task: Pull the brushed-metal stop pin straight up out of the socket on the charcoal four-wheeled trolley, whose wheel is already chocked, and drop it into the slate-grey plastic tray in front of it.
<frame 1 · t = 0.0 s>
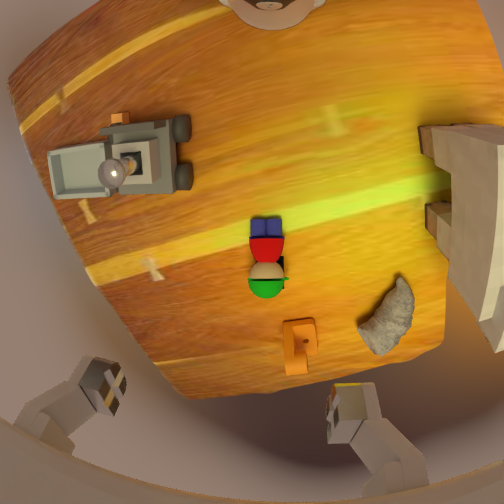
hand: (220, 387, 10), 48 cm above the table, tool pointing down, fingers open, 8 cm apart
tray: (87, 167, 56), on the table
seashell: (382, 306, 66), on the table
toy: (267, 248, 62), on the table
bracket: (301, 333, 72), on the table
toy 2: (449, 194, 52), on the table
stop pin: (141, 158, 48), point 6 cm above the table, touching trolley
trolley: (155, 152, 54), on the table
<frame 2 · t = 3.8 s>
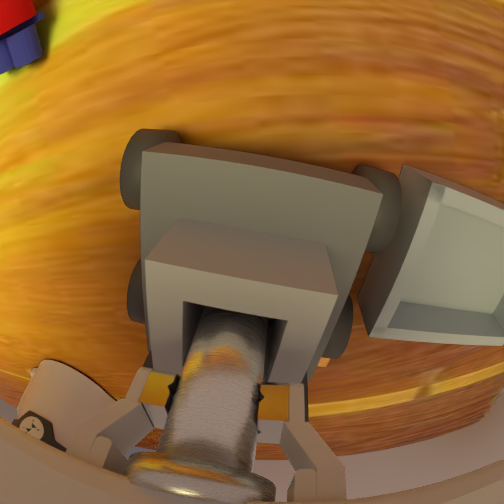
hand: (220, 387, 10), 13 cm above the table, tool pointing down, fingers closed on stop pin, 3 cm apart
tray: (461, 256, 20), on the table
stop pin: (241, 291, 16), point 6 cm above the table, touching gripper, trolley
trolley: (252, 237, 21), on the table
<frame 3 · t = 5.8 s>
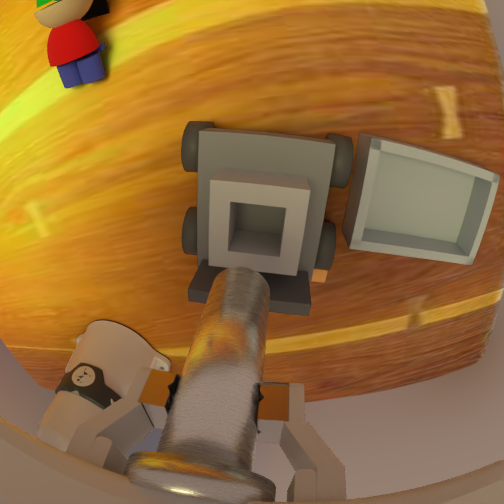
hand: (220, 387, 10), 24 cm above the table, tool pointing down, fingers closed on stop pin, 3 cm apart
tray: (416, 195, 29), on the table
toy: (92, 29, 23), on the table
stop pin: (240, 291, 16), point 18 cm above the table, touching gripper
trolley: (264, 189, 31), on the table
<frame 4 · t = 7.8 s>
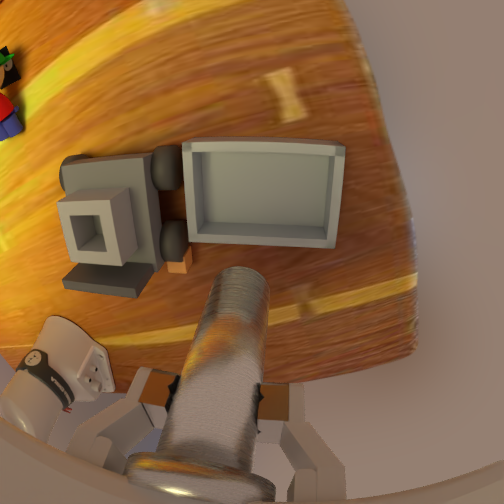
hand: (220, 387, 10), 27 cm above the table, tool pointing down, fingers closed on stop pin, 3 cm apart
tray: (264, 184, 34), on the table
toy: (13, 92, 29), on the table
stop pin: (240, 291, 15), point 21 cm above the table, touching gripper
trolley: (131, 199, 36), on the table
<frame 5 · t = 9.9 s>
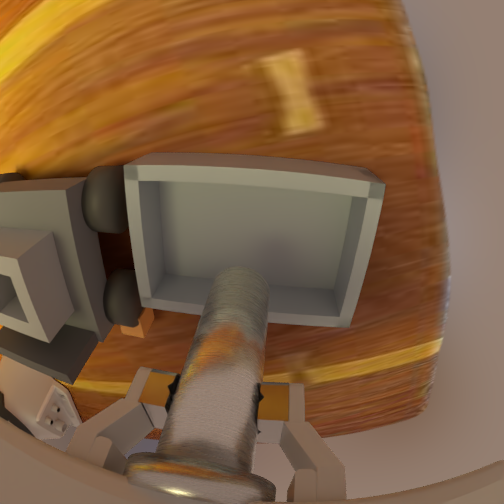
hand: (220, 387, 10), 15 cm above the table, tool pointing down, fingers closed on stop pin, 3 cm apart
tray: (252, 226, 23), on the table
stop pin: (240, 291, 15), point 9 cm above the table, touching gripper
trolley: (73, 234, 25), on the table
when the fingers open (9 cm above the table, at t = 11.8 s): stop pin drops 2 cm, resting on tray.
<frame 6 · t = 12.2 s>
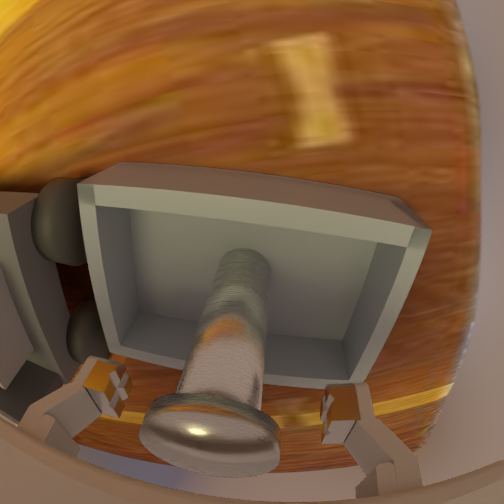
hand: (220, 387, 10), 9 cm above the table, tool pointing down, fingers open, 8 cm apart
tray: (247, 262, 18), on the table
stop pin: (244, 271, 17), point 1 cm above the table, touching tray
trolley: (37, 252, 20), on the table
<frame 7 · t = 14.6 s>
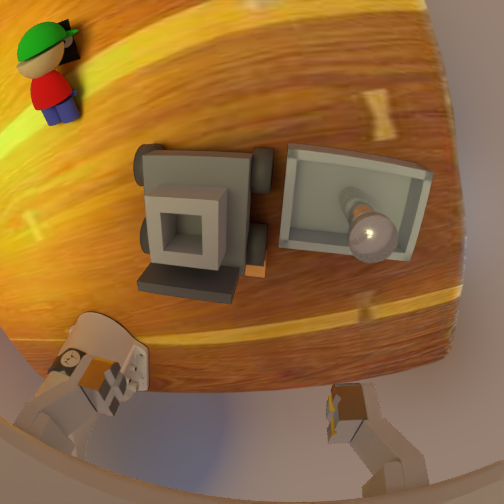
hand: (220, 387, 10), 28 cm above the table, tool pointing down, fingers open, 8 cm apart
tray: (350, 196, 34), on the table
toy: (68, 73, 30), on the table
stop pin: (351, 198, 33), point 1 cm above the table, touching tray
trolley: (209, 197, 36), on the table
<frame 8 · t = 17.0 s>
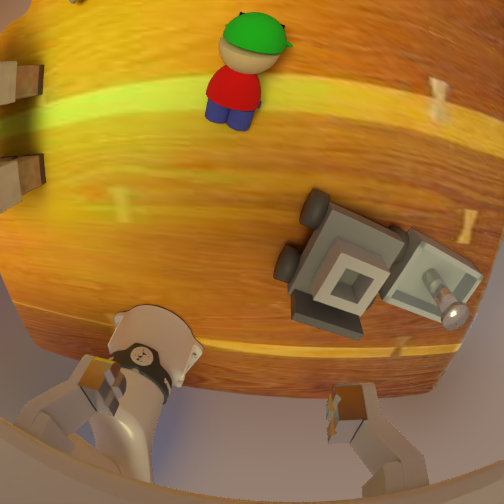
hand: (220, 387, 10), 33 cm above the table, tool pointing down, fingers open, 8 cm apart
tray: (427, 273, 44), on the table
toy: (246, 74, 33), on the table
toy 2: (19, 105, 36), on the table
stop pin: (429, 276, 43), point 1 cm above the table, touching tray
trolley: (338, 246, 43), on the table
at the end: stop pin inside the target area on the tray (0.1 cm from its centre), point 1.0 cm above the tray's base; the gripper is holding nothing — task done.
